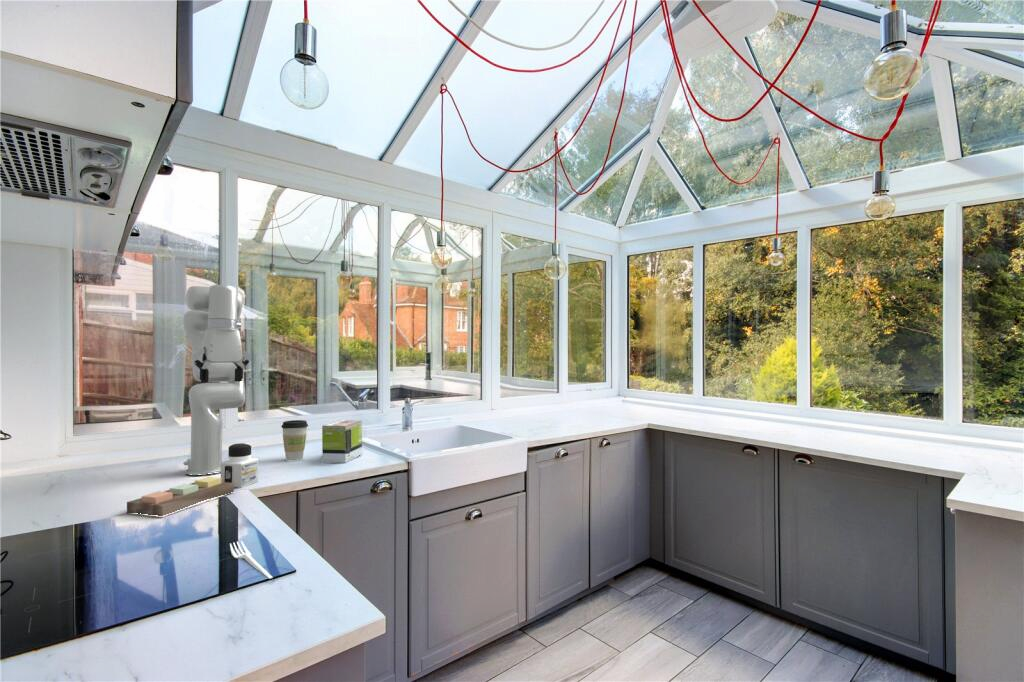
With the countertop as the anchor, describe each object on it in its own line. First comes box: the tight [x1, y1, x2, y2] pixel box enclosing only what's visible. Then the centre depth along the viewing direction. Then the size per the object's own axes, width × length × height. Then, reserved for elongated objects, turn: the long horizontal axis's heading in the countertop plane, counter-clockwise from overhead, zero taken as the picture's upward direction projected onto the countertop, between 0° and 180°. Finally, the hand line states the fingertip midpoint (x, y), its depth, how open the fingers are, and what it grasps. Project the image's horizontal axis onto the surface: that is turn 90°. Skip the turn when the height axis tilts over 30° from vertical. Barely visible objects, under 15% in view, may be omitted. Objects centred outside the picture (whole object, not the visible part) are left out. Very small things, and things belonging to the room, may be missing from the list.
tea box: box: [321, 419, 363, 464], centre depth 196 cm, size 15×10×15 cm, turn 172°
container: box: [220, 442, 259, 489], centre depth 158 cm, size 8×8×13 cm
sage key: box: [169, 483, 198, 495], centre depth 139 cm, size 5×5×3 cm
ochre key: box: [194, 476, 221, 488], centre depth 147 cm, size 5×5×3 cm
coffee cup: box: [280, 419, 309, 461], centre depth 195 cm, size 10×10×15 cm
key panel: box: [126, 481, 235, 516], centre depth 139 cm, size 12×23×3 cm, turn 165°
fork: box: [229, 539, 274, 580], centre depth 100 cm, size 3×20×2 cm, turn 47°
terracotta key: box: [141, 490, 173, 504], centre depth 131 cm, size 5×5×3 cm
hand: (221, 382), depth 148 cm, fingers open, 9 cm apart
